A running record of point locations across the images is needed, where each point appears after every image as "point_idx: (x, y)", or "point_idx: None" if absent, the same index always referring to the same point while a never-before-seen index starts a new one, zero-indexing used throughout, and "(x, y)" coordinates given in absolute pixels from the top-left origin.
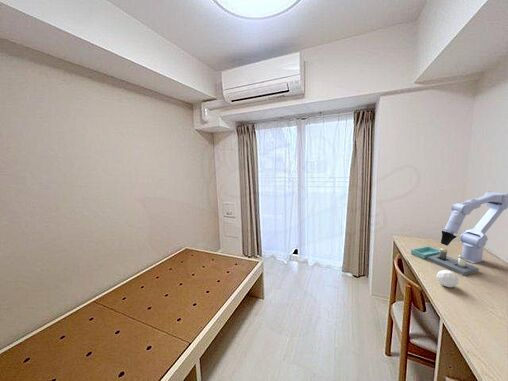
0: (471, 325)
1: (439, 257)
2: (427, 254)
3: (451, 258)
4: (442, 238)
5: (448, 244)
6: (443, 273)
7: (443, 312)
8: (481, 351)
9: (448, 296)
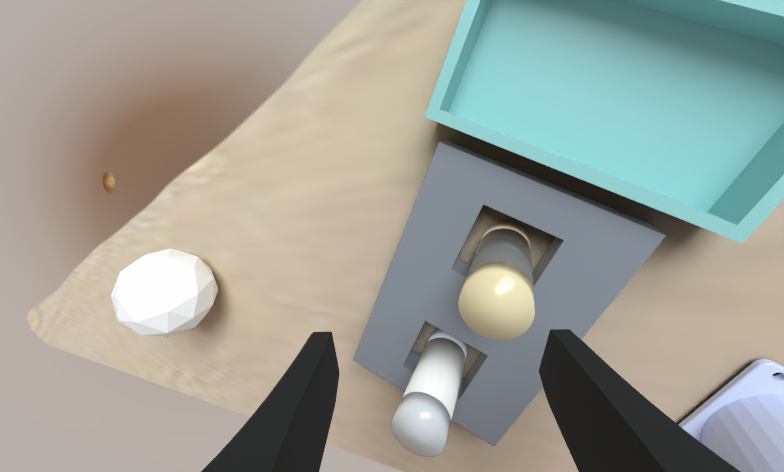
0: (94, 322)
1: (492, 234)
2: (470, 134)
3: (574, 318)
4: (259, 417)
5: (557, 401)
6: (113, 290)
7: (77, 270)
8: (54, 326)
9: None
